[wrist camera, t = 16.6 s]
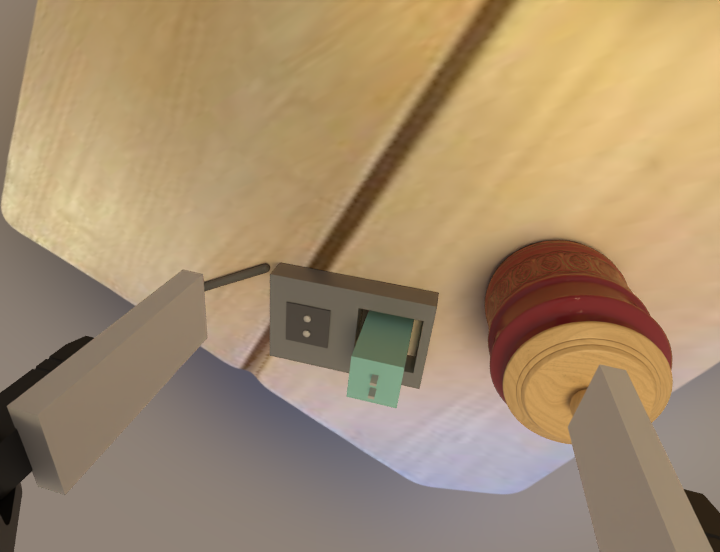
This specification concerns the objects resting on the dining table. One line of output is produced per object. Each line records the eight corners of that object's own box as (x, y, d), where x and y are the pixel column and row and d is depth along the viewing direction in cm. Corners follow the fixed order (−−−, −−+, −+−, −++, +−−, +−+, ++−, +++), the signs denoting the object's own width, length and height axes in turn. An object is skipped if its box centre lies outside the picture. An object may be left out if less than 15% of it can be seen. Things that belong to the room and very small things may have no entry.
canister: (458, 287, 46) (455, 402, 30) (569, 209, 40) (634, 303, 25) (534, 368, 48) (567, 513, 33) (649, 305, 42) (755, 446, 27)
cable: (198, 291, 54) (193, 295, 53) (194, 284, 53) (189, 288, 52) (272, 269, 50) (268, 272, 49) (268, 261, 49) (265, 265, 49)
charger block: (366, 339, 51) (343, 404, 42) (371, 303, 49) (348, 364, 39) (408, 348, 51) (394, 417, 41) (415, 312, 48) (402, 376, 38)
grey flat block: (279, 341, 54) (268, 357, 51) (280, 262, 49) (268, 275, 46) (421, 372, 52) (419, 391, 49) (438, 292, 47) (436, 308, 44)
